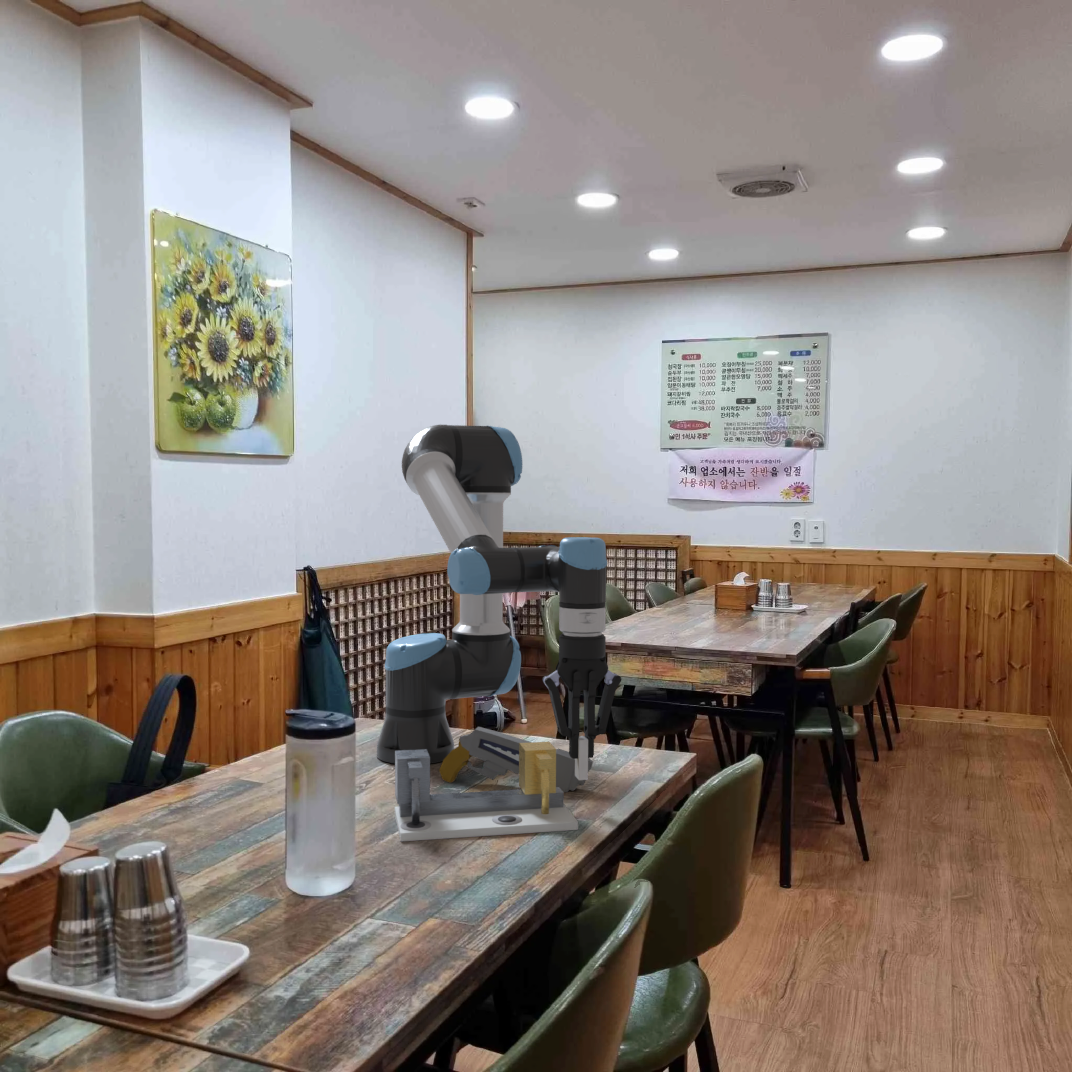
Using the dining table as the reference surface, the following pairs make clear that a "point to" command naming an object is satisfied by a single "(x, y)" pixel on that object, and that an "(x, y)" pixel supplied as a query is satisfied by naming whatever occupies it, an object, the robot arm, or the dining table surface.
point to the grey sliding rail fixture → (419, 801)
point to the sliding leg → (538, 770)
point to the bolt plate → (485, 823)
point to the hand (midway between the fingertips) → (581, 777)
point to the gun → (502, 758)
